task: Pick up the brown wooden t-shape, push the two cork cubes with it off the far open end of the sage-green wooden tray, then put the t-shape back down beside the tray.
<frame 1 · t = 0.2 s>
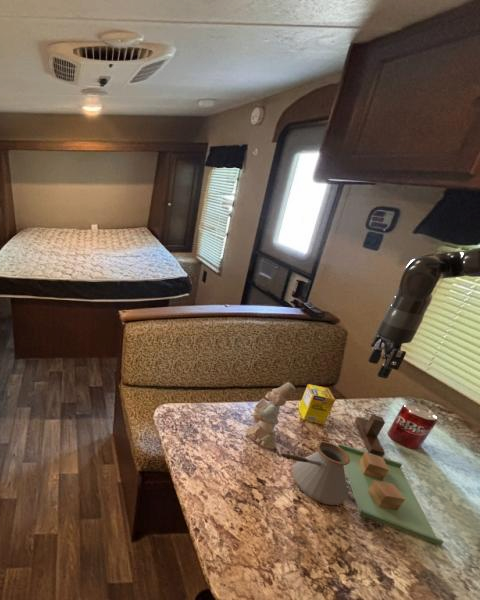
hand: (376, 369, 97), 19 cm above the table, tool pointing down, fingers open, 8 cm apart
supplement box: (309, 418, 103), on the table
tray: (379, 491, 80), on the table
cork cube B: (382, 500, 77), point 1 cm above the table, touching tray
brown wooden t-shape: (366, 440, 95), on the table
soda can: (401, 442, 95), on the table
figurine: (260, 437, 95), on the table
coffee pot: (298, 491, 79), on the table
cork cube A: (370, 471, 84), point 1 cm above the table, touching tray
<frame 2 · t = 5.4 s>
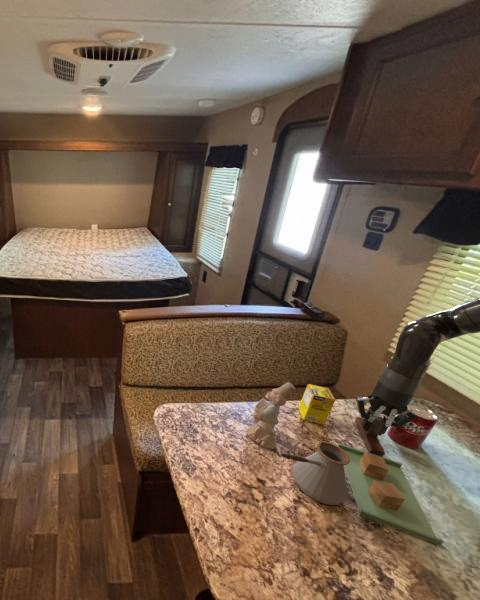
hand: (371, 431, 93), 4 cm above the table, tool pointing down, fingers closed on brown wooden t-shape, 2 cm apart
brown wooden t-shape: (366, 440, 95), on the table, touching gripper
everything else where it was.
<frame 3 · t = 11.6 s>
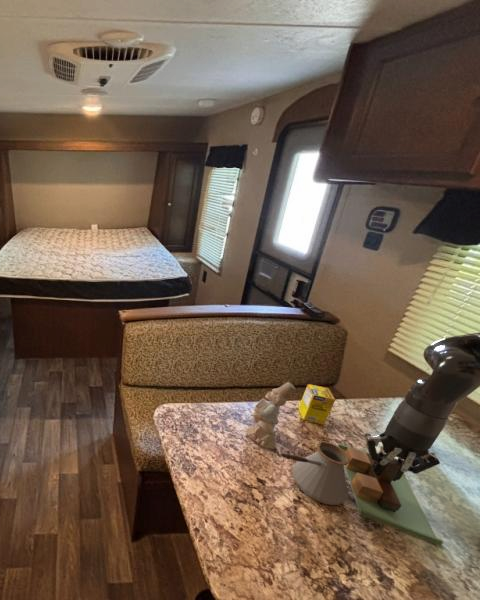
hand: (383, 475, 78), 5 cm above the table, tool pointing down, fingers closed on brown wooden t-shape, 2 cm apart
cork cube B: (363, 492, 78), point 1 cm above the table, touching brown wooden t-shape
brown wooden t-shape: (377, 486, 80), point 2 cm above the table, touching cork cube B, gripper
cork cube A: (353, 465, 86), point 1 cm above the table, touching tray
everything else where it was.
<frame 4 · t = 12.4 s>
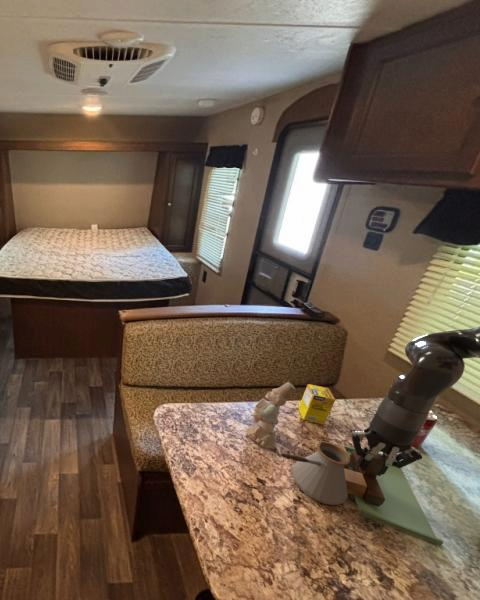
hand: (369, 470, 79), 5 cm above the table, tool pointing down, fingers closed on brown wooden t-shape, 2 cm apart
cork cube B: (349, 488, 79), point 1 cm above the table, touching brown wooden t-shape, coffee pot, tray
brown wooden t-shape: (363, 481, 81), point 2 cm above the table, touching cork cube B, gripper
coffee pot: (298, 492, 79), on the table, touching cork cube B
cork cube A: (341, 461, 87), point 1 cm above the table, tilted 31°
everything else where it was.
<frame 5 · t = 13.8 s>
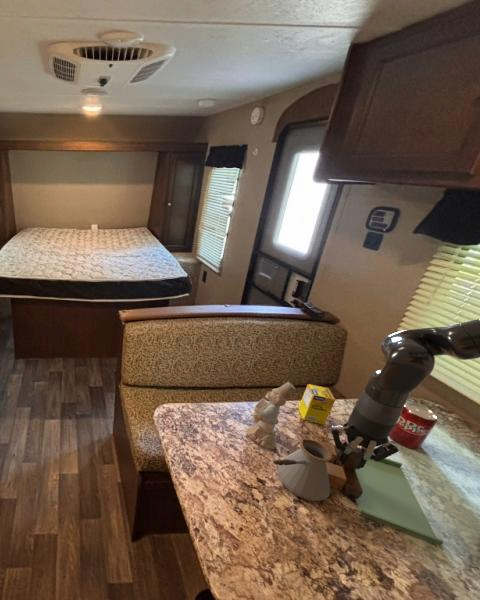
hand: (349, 463, 81), 5 cm above the table, tool pointing down, fingers closed on brown wooden t-shape, 2 cm apart
cork cube B: (329, 480, 81), point 1 cm above the table, touching brown wooden t-shape, coffee pot
brown wooden t-shape: (343, 474, 83), point 1 cm above the table, touching cork cube A, cork cube B, gripper
coffee pot: (285, 492, 79), on the table, touching cork cube B
cork cube A: (321, 457, 89), on the table, touching brown wooden t-shape
everything else where it was.
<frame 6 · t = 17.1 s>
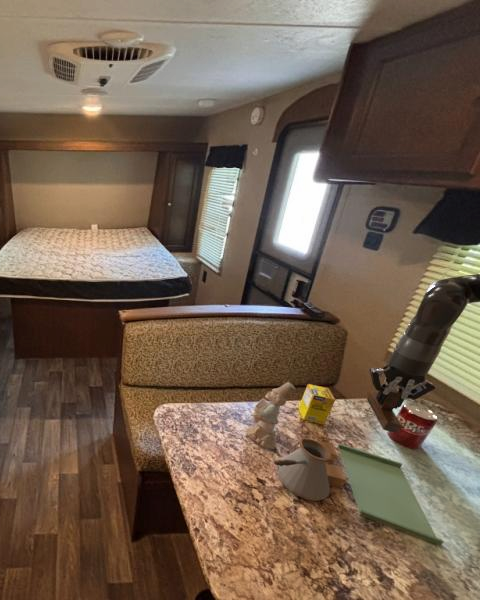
hand: (386, 404, 89), 14 cm above the table, tool pointing down, fingers closed on brown wooden t-shape, 2 cm apart
cork cube B: (328, 481, 82), on the table
brown wooden t-shape: (380, 415, 91), point 10 cm above the table, touching gripper
coffee pot: (285, 492, 79), on the table
cork cube A: (321, 457, 89), on the table
everything else where it was.
when the fingers open (4 cm above the table, at t = 19.6 s): brown wooden t-shape stays where it is, on the table.
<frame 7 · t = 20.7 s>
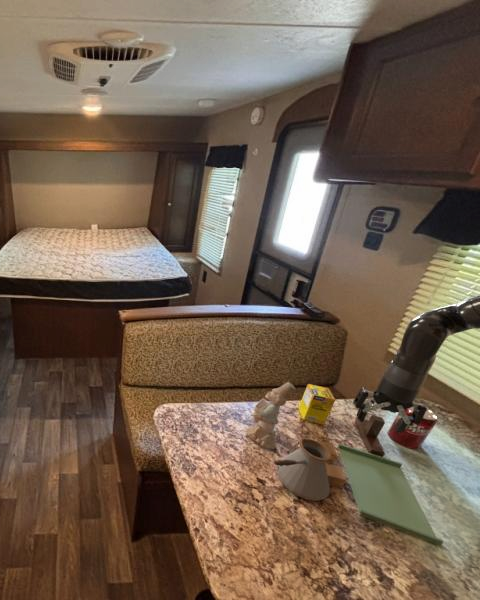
hand: (378, 425, 92), 7 cm above the table, tool pointing down, fingers open, 8 cm apart
brown wooden t-shape: (365, 441, 95), on the table
everything else where it was.
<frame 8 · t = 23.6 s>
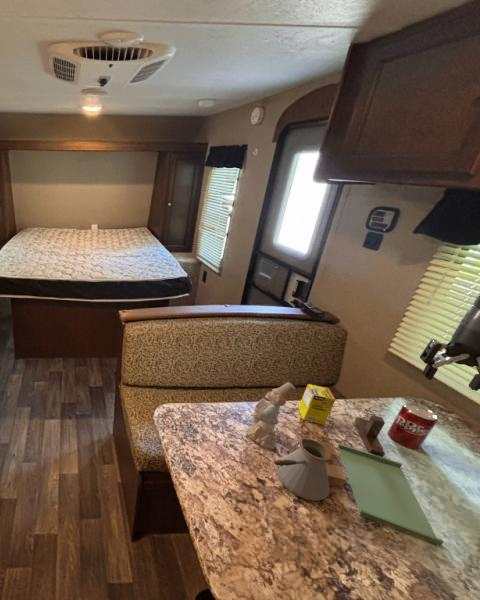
hand: (449, 383, 80), 26 cm above the table, tool pointing down, fingers open, 8 cm apart
nothing on the table moved.
at the end: cork cube A inside the target area (11.0 cm from its centre), on the table; cork cube B inside the target area (10.2 cm from its centre), on the table; the gripper is holding nothing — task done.
